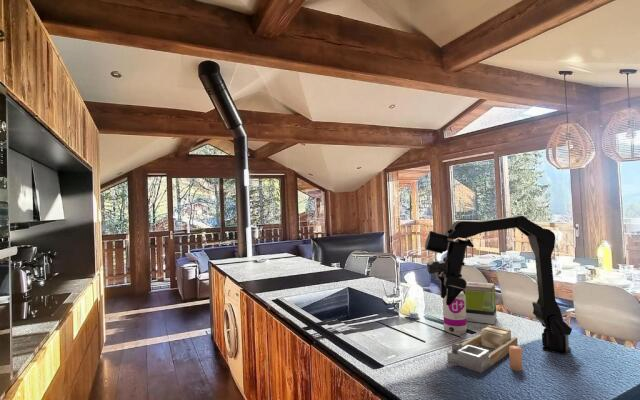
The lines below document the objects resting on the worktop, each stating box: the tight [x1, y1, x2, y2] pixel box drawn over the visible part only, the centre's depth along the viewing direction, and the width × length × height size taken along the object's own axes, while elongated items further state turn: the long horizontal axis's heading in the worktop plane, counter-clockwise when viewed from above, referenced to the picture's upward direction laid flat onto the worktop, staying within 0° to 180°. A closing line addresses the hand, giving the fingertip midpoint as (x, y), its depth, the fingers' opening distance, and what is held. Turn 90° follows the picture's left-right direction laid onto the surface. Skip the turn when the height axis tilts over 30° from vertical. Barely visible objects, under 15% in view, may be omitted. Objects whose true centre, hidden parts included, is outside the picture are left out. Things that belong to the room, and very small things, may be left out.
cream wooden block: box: [480, 324, 512, 350], centre depth 124 cm, size 7×7×5 cm
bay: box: [461, 332, 519, 367], centre depth 119 cm, size 11×21×3 cm, turn 132°
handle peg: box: [508, 345, 523, 372], centre depth 107 cm, size 3×3×6 cm
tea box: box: [462, 281, 497, 325], centre depth 152 cm, size 15×10×15 cm, turn 58°
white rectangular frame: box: [446, 342, 492, 374], centre depth 111 cm, size 11×7×5 cm, turn 42°
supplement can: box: [442, 291, 468, 335], centre depth 139 cm, size 8×8×15 cm
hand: (445, 301), depth 124 cm, fingers open, 9 cm apart
